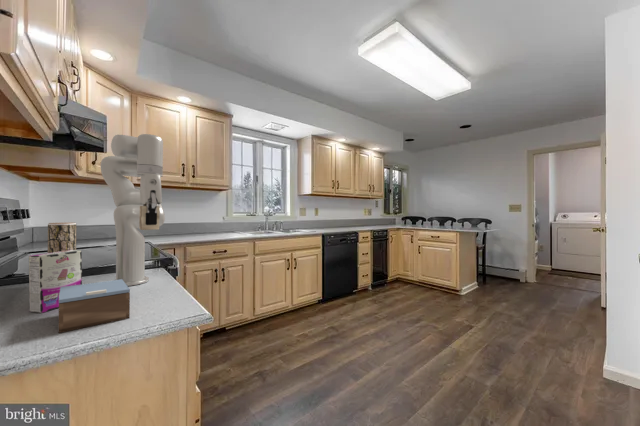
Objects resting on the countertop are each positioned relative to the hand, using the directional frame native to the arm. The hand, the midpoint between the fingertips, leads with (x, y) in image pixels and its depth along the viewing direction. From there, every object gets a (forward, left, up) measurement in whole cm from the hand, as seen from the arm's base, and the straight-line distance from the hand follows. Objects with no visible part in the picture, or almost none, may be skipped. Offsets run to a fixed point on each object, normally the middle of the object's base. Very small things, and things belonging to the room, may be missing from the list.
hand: (149, 223), depth 94 cm
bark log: (-14, -22, -25) cm, 36 cm away
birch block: (0, 0, -2) cm, 2 cm away
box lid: (+12, -15, -18) cm, 26 cm away
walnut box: (+12, -15, -25) cm, 31 cm away
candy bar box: (-6, -23, -25) cm, 35 cm away
